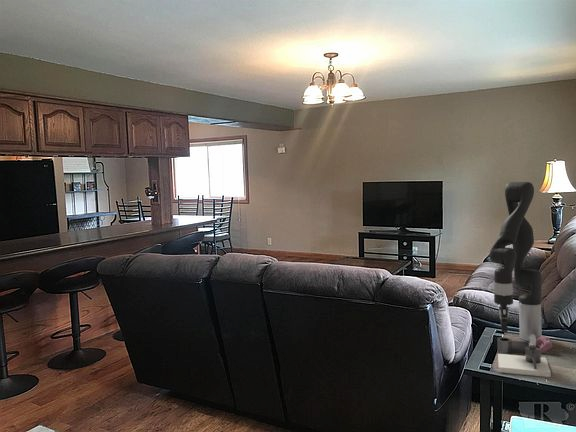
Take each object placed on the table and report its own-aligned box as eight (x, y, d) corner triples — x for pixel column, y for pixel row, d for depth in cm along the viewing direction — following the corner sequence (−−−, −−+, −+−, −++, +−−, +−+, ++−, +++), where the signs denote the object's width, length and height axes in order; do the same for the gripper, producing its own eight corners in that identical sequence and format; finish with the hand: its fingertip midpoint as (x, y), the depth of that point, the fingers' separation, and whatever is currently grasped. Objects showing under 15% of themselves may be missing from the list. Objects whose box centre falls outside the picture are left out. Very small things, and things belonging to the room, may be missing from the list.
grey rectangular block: (497, 350, 206) (497, 336, 206) (528, 352, 201) (528, 339, 201) (498, 354, 201) (497, 341, 201) (529, 357, 196) (529, 343, 196)
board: (497, 358, 197) (497, 353, 197) (545, 362, 190) (545, 357, 190) (499, 372, 183) (499, 367, 183) (550, 377, 176) (550, 372, 176)
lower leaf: (525, 357, 191) (524, 331, 190) (540, 359, 189) (539, 332, 188) (527, 368, 181) (526, 340, 180) (543, 369, 179) (542, 342, 178)
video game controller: (548, 357, 199) (556, 343, 198) (538, 352, 199) (545, 338, 198) (540, 349, 208) (547, 335, 207) (530, 344, 209) (537, 331, 208)
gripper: (493, 288, 209) (494, 323, 209) (494, 295, 195) (495, 333, 196) (511, 289, 206) (512, 325, 207) (514, 296, 193) (514, 334, 193)
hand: (504, 329), depth 201 cm, fingers open, 8 cm apart
